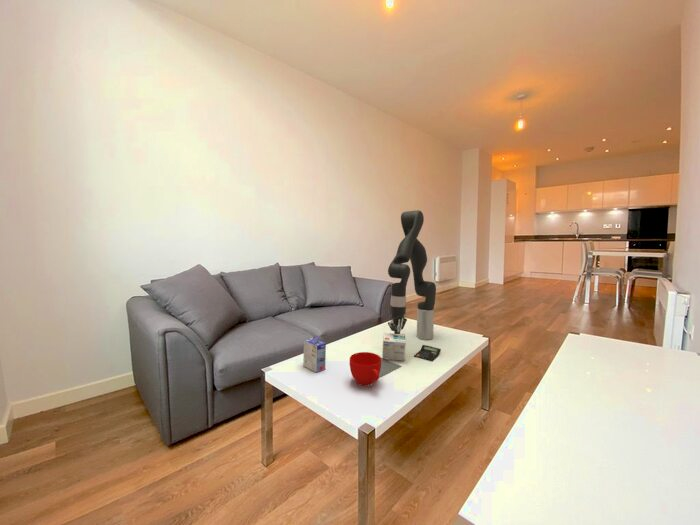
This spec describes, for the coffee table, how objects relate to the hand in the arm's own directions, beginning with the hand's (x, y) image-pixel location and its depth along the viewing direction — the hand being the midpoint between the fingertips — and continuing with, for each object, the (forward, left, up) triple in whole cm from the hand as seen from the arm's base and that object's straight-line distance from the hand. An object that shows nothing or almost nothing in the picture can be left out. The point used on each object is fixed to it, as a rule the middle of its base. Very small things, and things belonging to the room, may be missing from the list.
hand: (397, 338), depth 146 cm
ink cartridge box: (+38, -17, -9) cm, 43 cm away
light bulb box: (+3, 0, -8) cm, 8 cm away
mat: (+16, 0, -9) cm, 18 cm away
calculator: (-12, +10, -9) cm, 18 cm away
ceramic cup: (+31, +9, -9) cm, 33 cm away
